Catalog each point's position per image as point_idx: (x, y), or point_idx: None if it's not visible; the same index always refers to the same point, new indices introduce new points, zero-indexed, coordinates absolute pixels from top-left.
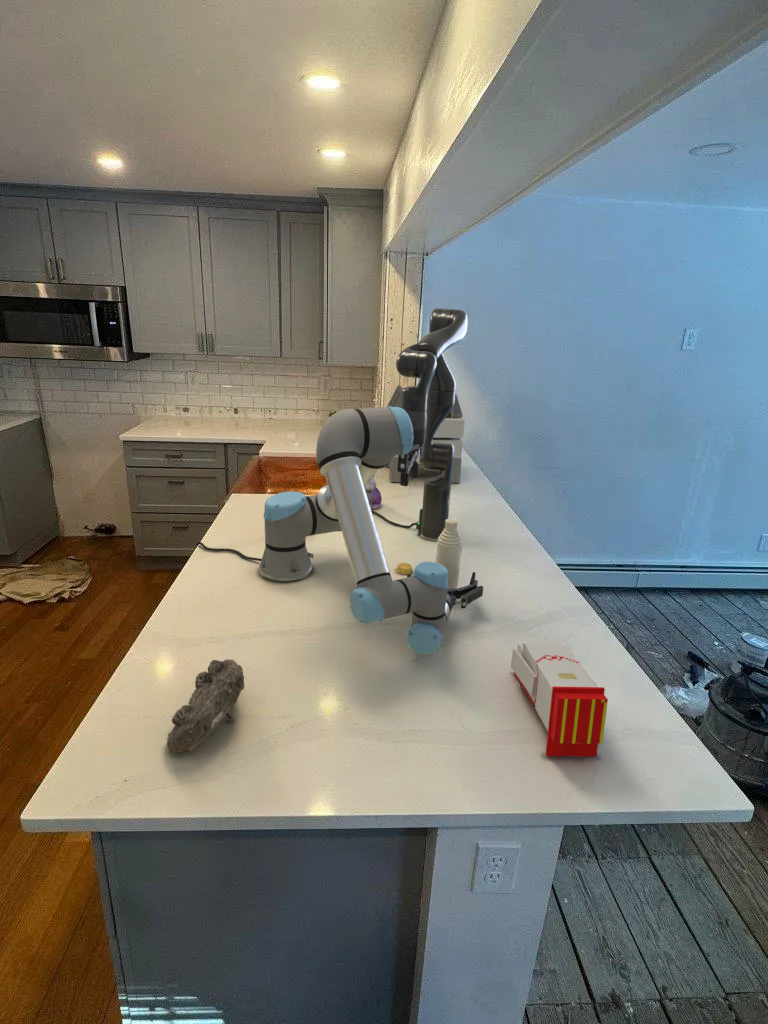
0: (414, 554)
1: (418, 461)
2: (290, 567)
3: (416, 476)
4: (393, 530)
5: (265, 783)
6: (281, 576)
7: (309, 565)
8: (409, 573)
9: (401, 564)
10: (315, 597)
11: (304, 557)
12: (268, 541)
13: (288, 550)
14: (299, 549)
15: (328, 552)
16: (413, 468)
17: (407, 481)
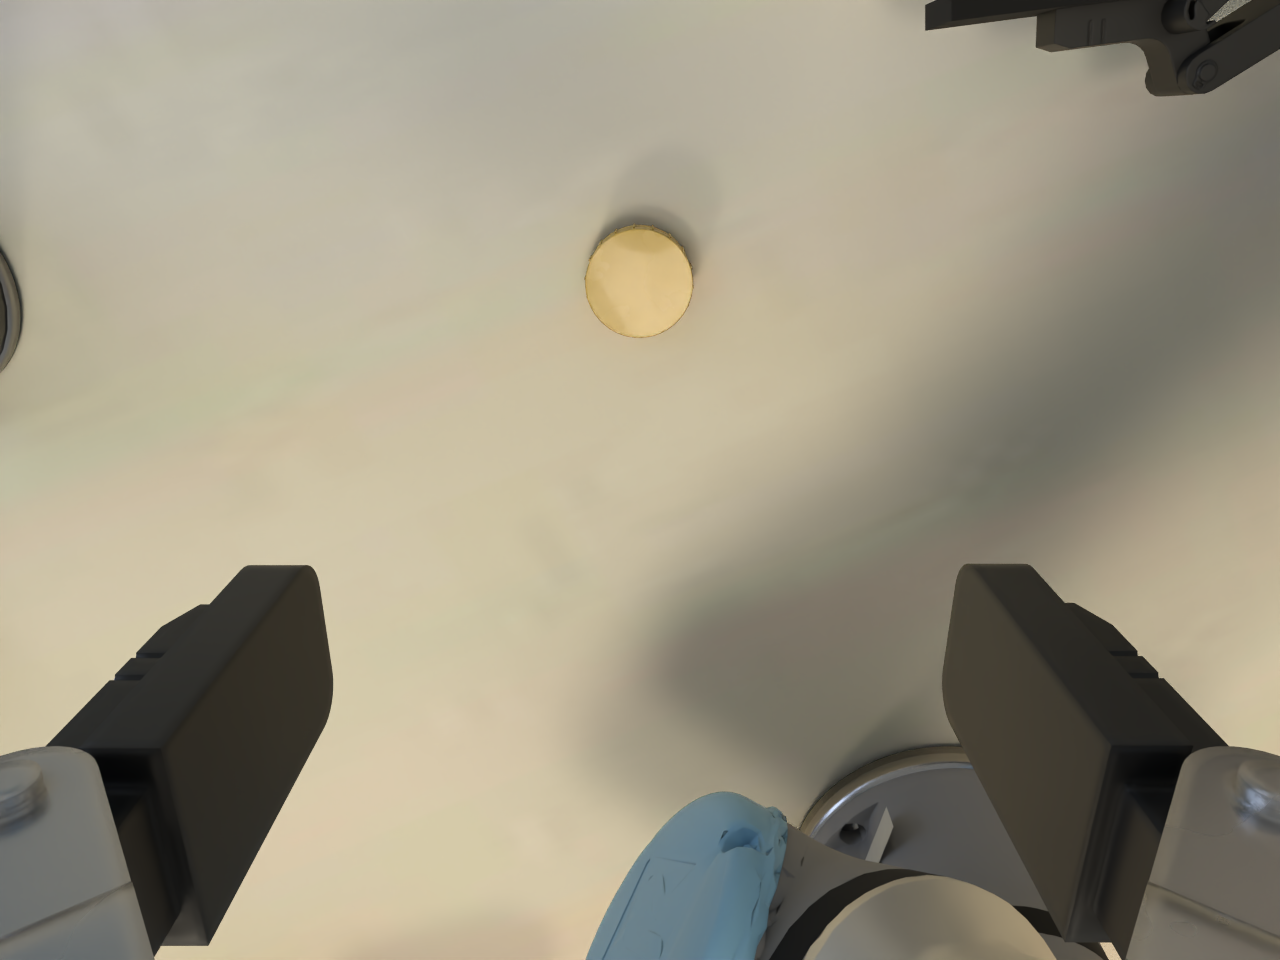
0: (330, 309)
1: (102, 891)
2: None
3: (297, 600)
4: (32, 589)
5: None
6: None
7: (938, 786)
8: (658, 229)
9: (627, 313)
10: (1179, 610)
11: (986, 845)
12: None
13: (1100, 949)
14: (1038, 909)
15: (605, 783)
16: (235, 811)
17: (1072, 616)
